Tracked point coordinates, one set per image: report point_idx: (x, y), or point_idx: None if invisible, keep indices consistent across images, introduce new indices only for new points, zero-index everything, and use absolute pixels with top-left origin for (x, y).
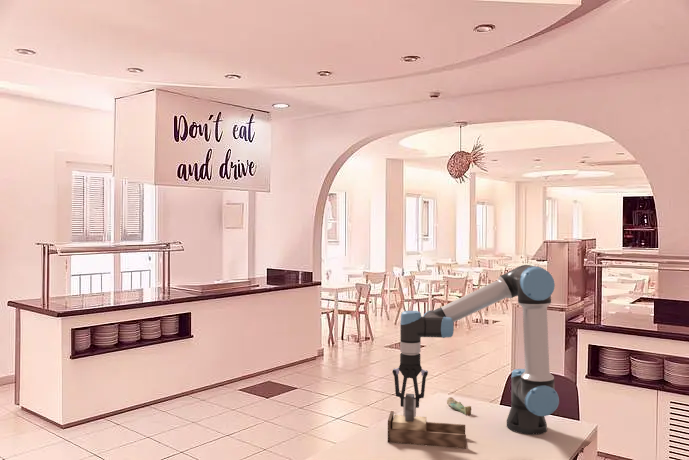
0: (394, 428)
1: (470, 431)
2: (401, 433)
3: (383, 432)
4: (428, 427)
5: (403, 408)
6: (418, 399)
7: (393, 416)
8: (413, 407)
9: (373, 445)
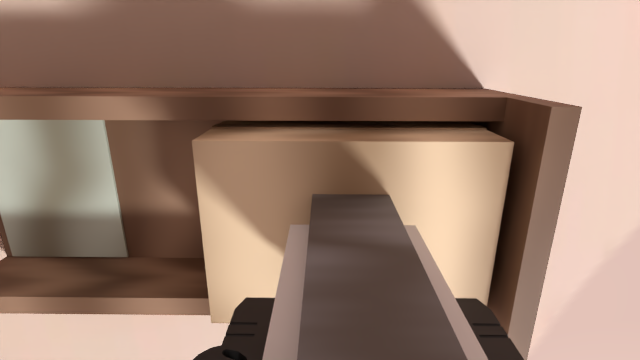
0: (470, 130)
1: (16, 350)
2: (404, 94)
3: None
4: None
5: (439, 270)
6: (198, 357)
7: None
8: (306, 266)
9: (586, 10)
